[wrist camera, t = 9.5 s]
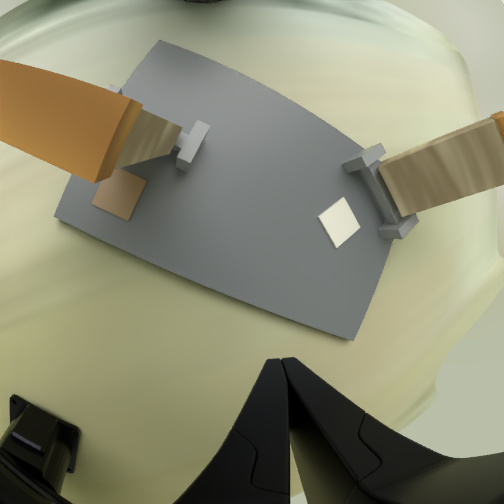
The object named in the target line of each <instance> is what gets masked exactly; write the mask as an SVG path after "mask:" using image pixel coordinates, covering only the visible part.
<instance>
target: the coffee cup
mask: <svg viewBox="0 0 504 504" xmlns="http://www.w3.org/2000/svg"><path fill="white" fill-rule="evenodd" d="M185 1H189V2H197V3H209V2H216V1H221V0H185Z"/></svg>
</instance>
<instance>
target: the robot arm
mask: <svg viewBox="0 0 504 504" xmlns="http://www.w3.org/2000/svg"><path fill="white" fill-rule="evenodd" d="M15 400H16V401H15ZM73 431H75V432H73ZM79 436H80V430H79V429H78V428H77V427H76V426H74V425H71V424H69V423H67V422H65V421H63V420H61V419H59V418H57V417H55V416H53V415H51V414H49V413H47V412H45V411H43V410H41V409H39V408H37V407H36V406H34V405H32V404H30V403H29V402H27V401H25V400H23V399H22V398H20V397H18V396H17V395H15V394H13V395H12V396H11V397H10V425H9V427H8V428H7V430H6V432H5V433H4V435H3V436H2V438H1V439H0V504H73V503H71V502H69V501H68V500H66V499H65V498H63V497H62V496H60V493H61V489H62V485H63V482H64V478H65V474H66V472H68V473H74V470H75V464H76V456H77V449H78V443H79ZM290 444H291V447H292V451H293V454H294V458H295V461H296V465H297V468H298V472H299V475H300V479H301V482H302V486H303V489H304V492H305V495H306V499H307V502H308V504H504V452H502V453H497V454H491V455H485V456H478V457H470V458H453V457H448V456H444V455H442V454H439V453H437V452H435V451H433V450H431V449H429V448H426V447H425V446H423V445H421V444H419V443H417V442H414V441H413V440H411V439H408V438H407V437H405V436H403V435H401V434H399V433H398V432H396V431H394V430H392V429H390V428H389V427H387V426H386V425H384V424H383V423H381V422H380V421H378V420H377V419H375V418H374V417H372V416H371V415H370V414H368V413H365V411H364V410H363V409H361V408H360V407H359V406H357V405H356V404H354V403H353V402H352V401H350V400H349V399H348V398H346V397H345V396H344V395H342V394H341V393H340V392H338V391H337V390H336V389H335V388H333V387H332V386H331V385H329V384H328V383H327V382H325V381H324V380H323V379H322V378H320V377H319V376H318V375H316V374H315V373H314V372H313V371H311V370H310V369H309V368H308V367H306V366H305V365H304V364H303V363H301V362H300V361H299V360H298V359H296V358H295V357H289V358H282V359H279V358H276V359H267V360H266V362H265V364H264V366H263V368H262V370H261V372H260V374H259V376H258V378H257V380H256V382H255V384H254V386H253V388H252V390H251V392H250V394H249V396H248V398H247V400H246V402H245V404H244V406H243V408H242V410H241V412H240V413H239V415H238V417H237V419H236V421H235V423H234V425H233V427H232V429H231V430H230V432H229V434H228V435H227V437H226V439H225V441H224V442H223V444H222V446H221V447H220V449H219V450H218V452H217V453H216V455H215V456H214V457H213V459H212V460H211V461H210V462H209V464H208V465H207V466H206V467H205V469H204V470H203V471H202V472H201V473H200V475H199V476H198V477H197V478H196V479H195V480H194V481H193V483H192V484H191V485H190V486H189V487H188V488H187V489H186V490H185V492H184V493H183V494H182V495H181V496H180V497H179V498H178V499H177V500H176V501H175V502H174V503H173V504H290Z"/></svg>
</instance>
